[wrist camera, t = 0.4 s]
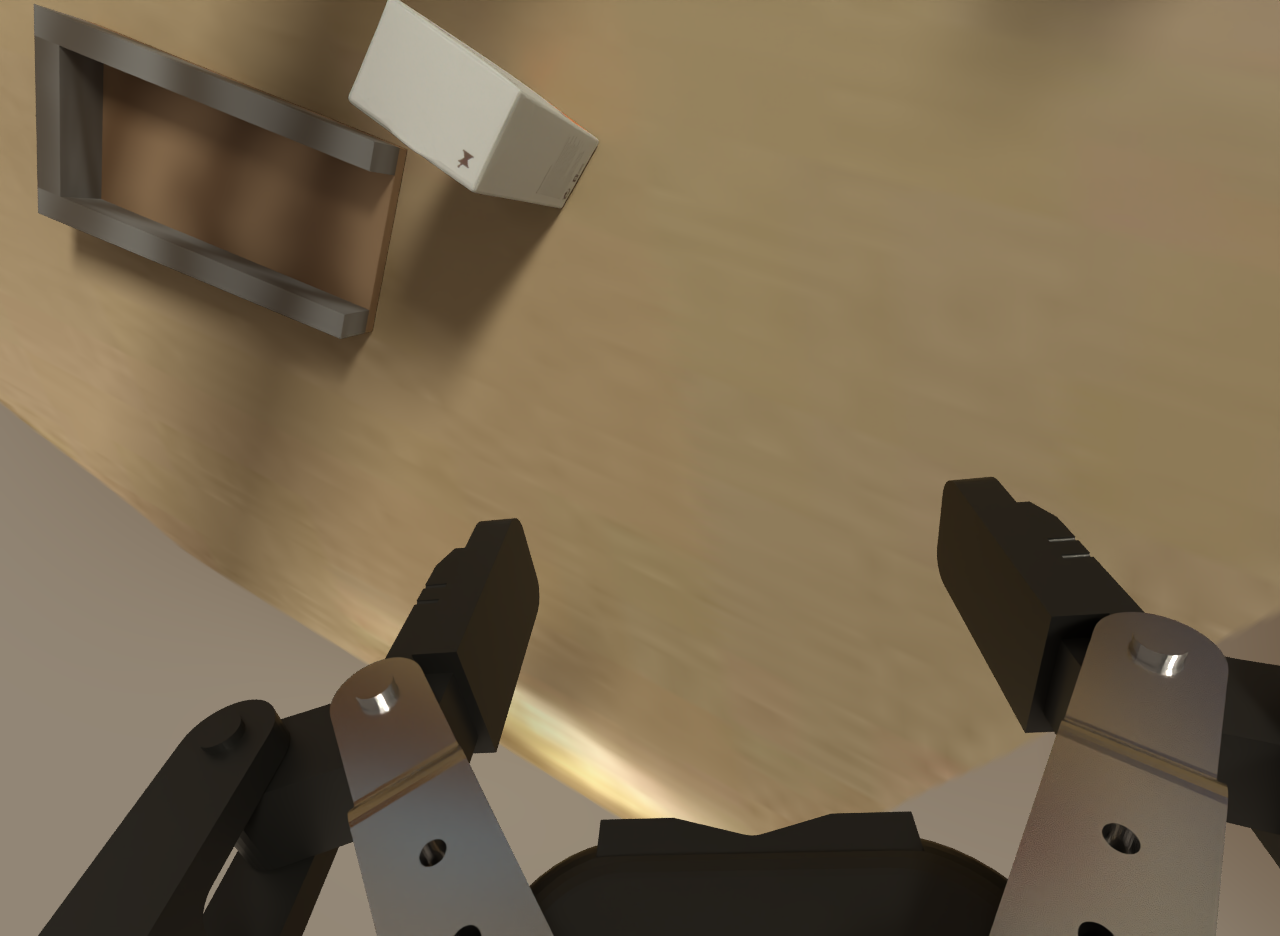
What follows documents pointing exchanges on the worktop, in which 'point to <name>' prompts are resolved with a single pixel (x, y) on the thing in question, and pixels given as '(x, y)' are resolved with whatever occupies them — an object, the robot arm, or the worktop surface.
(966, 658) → the worktop surface
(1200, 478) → the worktop surface
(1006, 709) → the worktop surface
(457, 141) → the skincare box
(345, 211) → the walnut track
